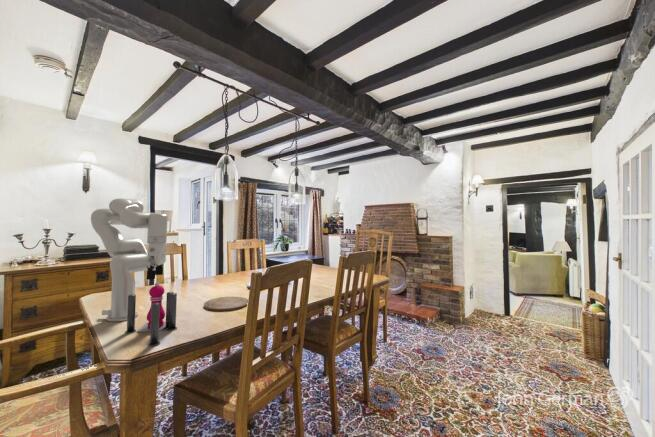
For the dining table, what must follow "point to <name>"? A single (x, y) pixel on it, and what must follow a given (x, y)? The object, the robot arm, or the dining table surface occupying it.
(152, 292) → the pepper mill
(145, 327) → the slate coaster
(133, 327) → the gate course
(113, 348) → the dining table surface
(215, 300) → the trivet
